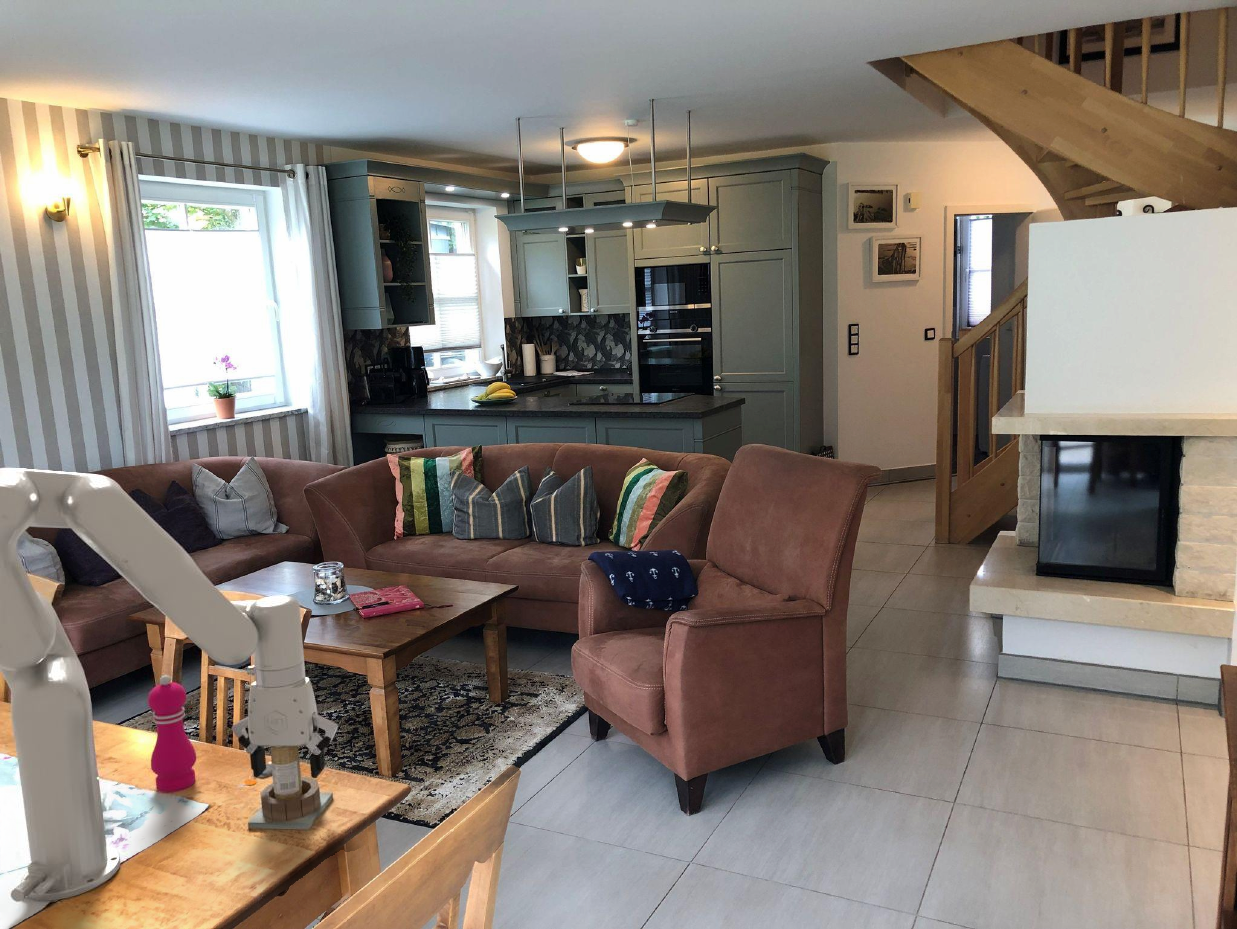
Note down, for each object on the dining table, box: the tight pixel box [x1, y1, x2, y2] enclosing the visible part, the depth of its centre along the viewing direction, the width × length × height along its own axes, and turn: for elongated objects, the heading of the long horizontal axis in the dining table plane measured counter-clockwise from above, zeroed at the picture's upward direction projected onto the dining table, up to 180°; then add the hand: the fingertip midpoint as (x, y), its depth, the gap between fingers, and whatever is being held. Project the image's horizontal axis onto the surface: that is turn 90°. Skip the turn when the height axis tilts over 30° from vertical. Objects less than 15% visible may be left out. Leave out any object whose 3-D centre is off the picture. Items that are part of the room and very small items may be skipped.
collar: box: [247, 776, 334, 830], centre depth 155 cm, size 10×10×4 cm
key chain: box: [235, 761, 273, 789], centre depth 168 cm, size 13×4×2 cm, turn 158°
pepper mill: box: [147, 674, 197, 793], centre depth 165 cm, size 7×7×20 cm
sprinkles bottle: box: [269, 746, 302, 800], centre depth 154 cm, size 5×5×13 cm
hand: (288, 773), depth 154 cm, fingers open, 9 cm apart
